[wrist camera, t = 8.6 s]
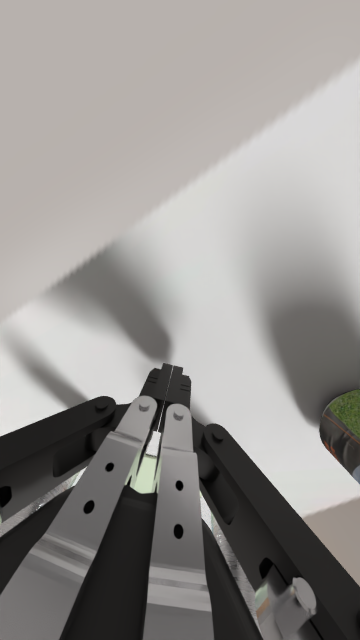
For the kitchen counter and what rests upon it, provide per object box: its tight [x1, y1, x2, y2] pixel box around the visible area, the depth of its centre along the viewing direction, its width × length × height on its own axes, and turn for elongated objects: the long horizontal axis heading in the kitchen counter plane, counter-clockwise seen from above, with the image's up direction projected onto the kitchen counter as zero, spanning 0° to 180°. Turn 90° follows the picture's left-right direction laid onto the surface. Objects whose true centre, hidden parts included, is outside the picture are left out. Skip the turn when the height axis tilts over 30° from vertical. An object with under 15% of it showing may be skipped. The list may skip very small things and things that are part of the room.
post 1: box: [0, 471, 80, 537], centre depth 12 cm, size 3×3×9 cm
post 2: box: [211, 512, 262, 635], centre depth 12 cm, size 3×3×9 cm
